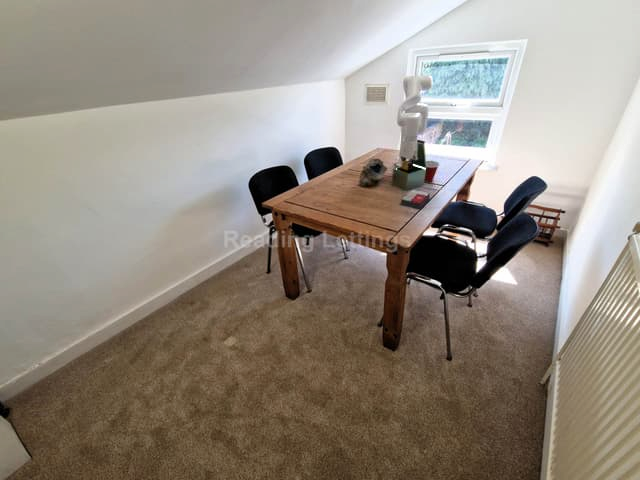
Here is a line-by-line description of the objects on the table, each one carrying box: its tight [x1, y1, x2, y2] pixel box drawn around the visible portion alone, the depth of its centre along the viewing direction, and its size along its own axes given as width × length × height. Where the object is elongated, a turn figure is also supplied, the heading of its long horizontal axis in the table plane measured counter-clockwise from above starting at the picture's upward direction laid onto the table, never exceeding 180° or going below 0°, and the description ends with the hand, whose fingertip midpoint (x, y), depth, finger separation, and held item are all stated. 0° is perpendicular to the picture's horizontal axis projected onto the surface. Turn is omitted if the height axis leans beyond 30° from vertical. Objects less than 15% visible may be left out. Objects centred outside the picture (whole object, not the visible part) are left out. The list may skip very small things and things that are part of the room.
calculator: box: [400, 189, 431, 210], centre depth 161 cm, size 11×4×15 cm
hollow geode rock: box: [358, 158, 388, 187], centre depth 191 cm, size 28×13×15 cm
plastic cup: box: [424, 160, 440, 183], centre depth 185 cm, size 11×11×12 cm
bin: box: [391, 164, 426, 191], centre depth 181 cm, size 16×13×11 cm
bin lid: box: [411, 139, 427, 168], centre depth 176 cm, size 16×13×5 cm
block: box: [402, 160, 409, 170], centre depth 175 cm, size 4×4×4 cm
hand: (406, 168), depth 176 cm, fingers closed on block, 4 cm apart
